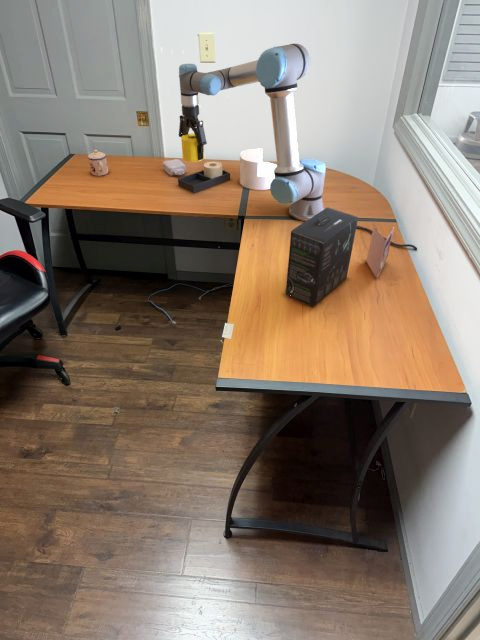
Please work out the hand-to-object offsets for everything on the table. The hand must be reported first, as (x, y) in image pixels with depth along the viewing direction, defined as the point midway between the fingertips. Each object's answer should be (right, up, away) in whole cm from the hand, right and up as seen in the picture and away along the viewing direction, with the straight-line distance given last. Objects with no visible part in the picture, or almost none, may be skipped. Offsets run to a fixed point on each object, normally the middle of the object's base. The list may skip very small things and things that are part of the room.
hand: (193, 156), depth 203 cm
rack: (+4, -8, +14) cm, 17 cm away
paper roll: (+8, -5, +17) cm, 20 cm away
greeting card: (+71, -58, -45) cm, 102 cm away
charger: (-11, 0, +23) cm, 26 cm away
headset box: (+48, -65, -53) cm, 97 cm away
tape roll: (0, -1, +1) cm, 1 cm away
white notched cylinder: (+32, -7, +16) cm, 36 cm away
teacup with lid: (-51, -1, +23) cm, 56 cm away
